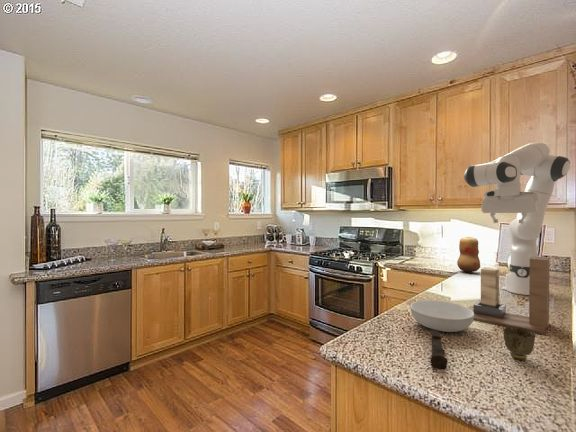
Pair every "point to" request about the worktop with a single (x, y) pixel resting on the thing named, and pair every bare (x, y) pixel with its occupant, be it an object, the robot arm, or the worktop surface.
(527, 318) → the l-shaped wooden bracket
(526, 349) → the cup
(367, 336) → the worktop surface
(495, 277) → the rail bar
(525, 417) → the worktop surface
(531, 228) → the robot arm
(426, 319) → the serving bowl
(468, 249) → the butternut squash
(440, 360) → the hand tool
